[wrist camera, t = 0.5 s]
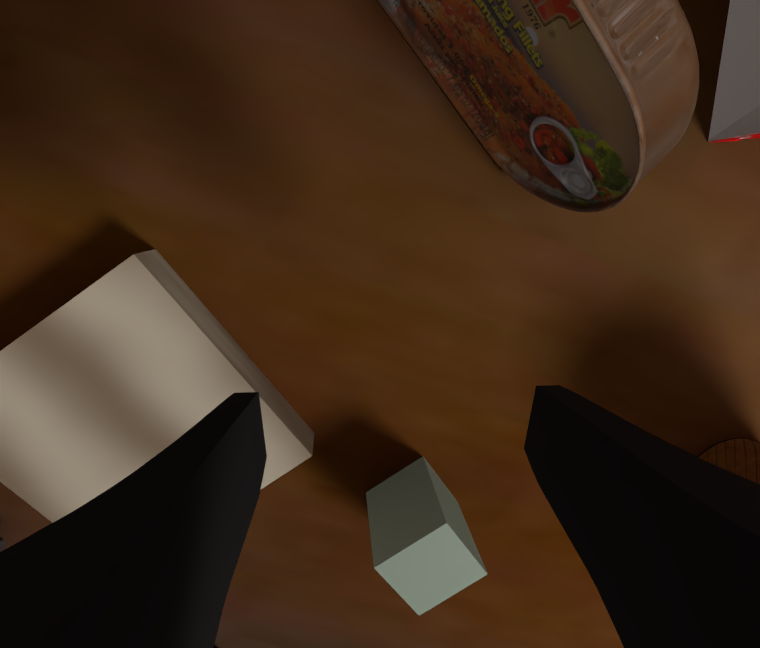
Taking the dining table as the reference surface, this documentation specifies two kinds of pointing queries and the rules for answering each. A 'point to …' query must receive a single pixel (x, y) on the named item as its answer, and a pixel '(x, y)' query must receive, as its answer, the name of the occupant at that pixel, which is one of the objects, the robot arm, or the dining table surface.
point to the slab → (124, 388)
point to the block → (421, 537)
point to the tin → (562, 86)
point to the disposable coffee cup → (736, 457)
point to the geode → (1, 544)
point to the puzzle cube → (738, 76)
